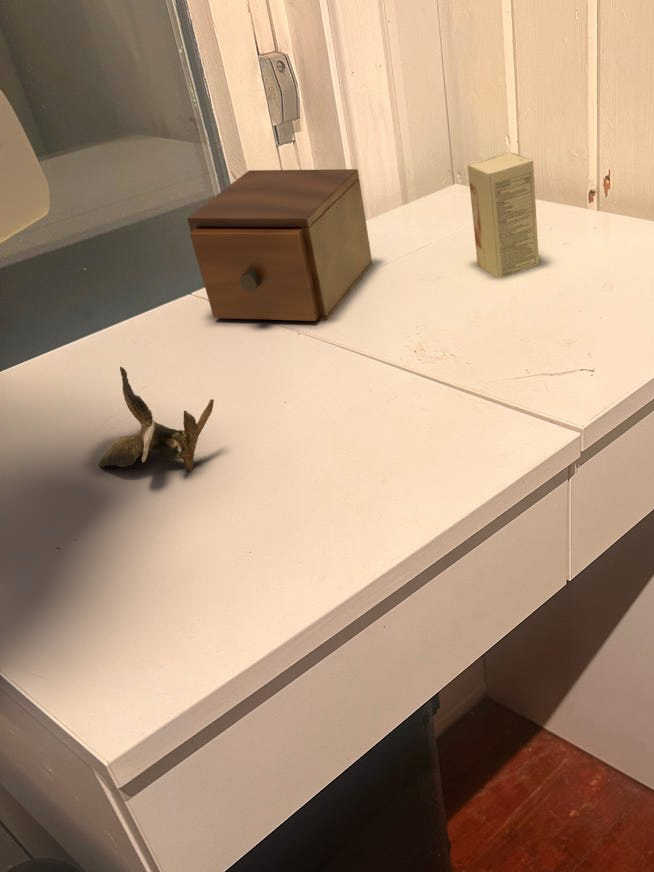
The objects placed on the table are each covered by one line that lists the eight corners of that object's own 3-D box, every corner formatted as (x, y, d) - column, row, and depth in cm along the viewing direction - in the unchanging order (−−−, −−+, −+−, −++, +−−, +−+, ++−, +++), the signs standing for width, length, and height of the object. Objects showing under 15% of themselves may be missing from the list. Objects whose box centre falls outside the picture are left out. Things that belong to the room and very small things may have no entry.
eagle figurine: (238, 424, 70) (143, 388, 72) (195, 379, 63) (92, 340, 66) (193, 511, 69) (98, 472, 71) (145, 475, 62) (41, 433, 65)
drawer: (310, 326, 83) (292, 239, 78) (207, 323, 86) (183, 238, 80) (359, 268, 93) (345, 186, 87) (265, 266, 95) (247, 187, 90)
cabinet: (327, 325, 85) (306, 218, 79) (215, 321, 88) (186, 218, 81) (373, 268, 95) (358, 168, 88) (271, 266, 97) (248, 170, 91)
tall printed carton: (517, 256, 94) (512, 150, 87) (540, 269, 91) (537, 159, 84) (473, 270, 92) (465, 162, 86) (496, 283, 90) (489, 172, 83)
